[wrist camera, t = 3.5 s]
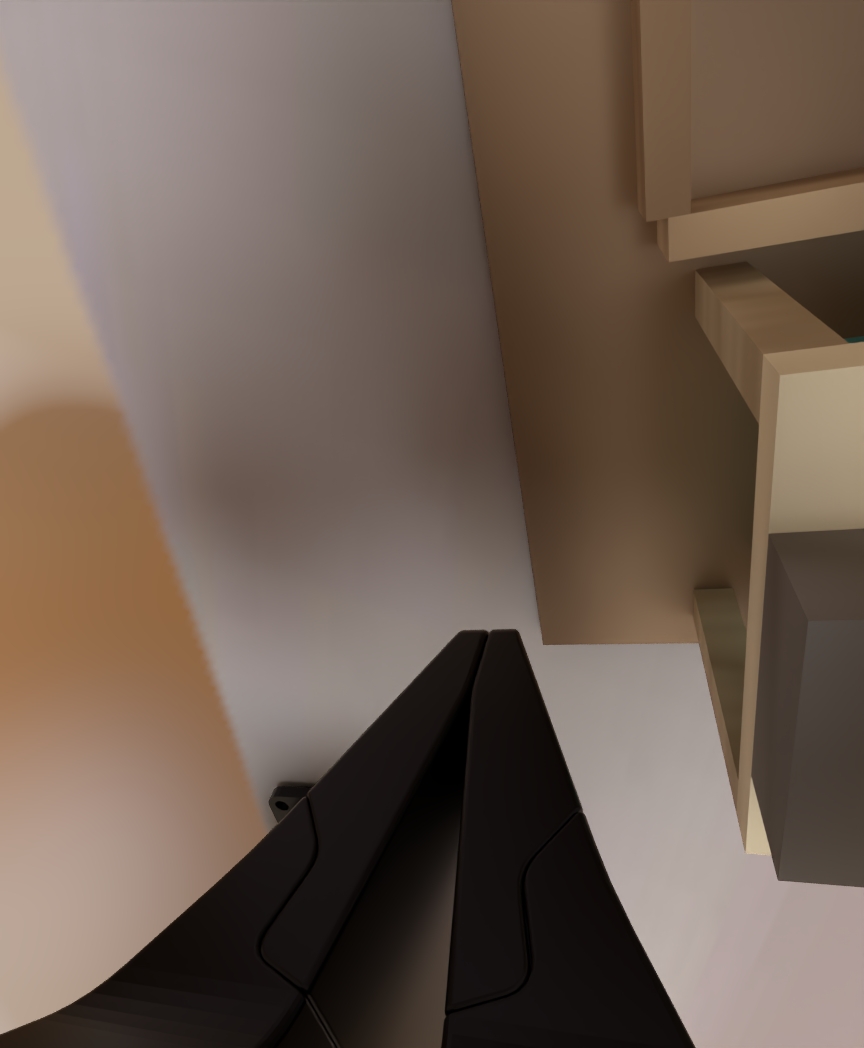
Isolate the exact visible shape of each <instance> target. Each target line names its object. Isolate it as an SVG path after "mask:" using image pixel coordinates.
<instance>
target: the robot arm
mask: <svg viewBox="0 0 864 1048" xmlns="http://www.w3.org/2000/svg"><path fill="white" fill-rule="evenodd" d="M269 806H270V808H271V810H272V812H273V814H274V816H275V818H276V820H277V822H278V824H277V825H276V826H275V827H274V828H273V829H272V830H271V831H270V832H269V833H268V834H267V835H266V836H265V837H264V838H263V839H262V840H261V841H260V842H259V843H258V844H257V845H256V846H255V847H254V849H252V850H251V851H250V852H249V853H248V854H247V855H246V856H245V857H244V858H243V859H242V860H241V861H239V863H237V864H236V865H235V866H234V867H233V868H232V869H231V870H230V871H229V872H228V873H227V874H226V875H225V876H224V877H222V879H220V880H219V881H218V882H217V883H216V884H215V885H214V886H213V887H211V888H210V889H209V890H208V891H207V892H206V893H205V894H204V895H202V896H201V897H200V898H199V899H198V900H197V901H196V902H195V903H193V904H192V905H191V906H190V907H189V908H188V909H187V910H186V911H185V912H183V913H182V914H181V915H180V916H179V917H178V918H177V919H176V920H174V921H173V922H172V923H171V924H170V925H169V926H168V927H167V928H166V929H164V930H163V931H162V932H161V933H160V934H159V935H158V936H157V937H155V938H154V939H153V940H152V941H151V942H150V943H149V944H148V945H147V946H145V947H144V948H143V949H142V950H141V951H140V952H139V953H137V954H136V955H135V956H134V957H133V958H132V959H131V960H130V961H129V962H128V963H126V964H125V965H124V966H123V967H122V968H120V969H119V970H118V971H117V972H116V973H114V974H113V975H112V976H111V977H110V978H109V979H107V980H106V981H104V982H103V983H102V984H100V985H99V986H98V987H96V988H95V989H94V990H92V991H91V992H89V993H88V994H86V995H85V996H83V997H81V998H80V999H78V1000H77V1001H75V1002H73V1003H72V1004H70V1005H68V1006H66V1007H64V1008H62V1009H60V1010H58V1011H56V1012H54V1013H52V1014H50V1015H48V1016H45V1017H43V1018H41V1019H38V1020H36V1021H33V1022H31V1023H28V1024H26V1025H23V1026H21V1027H18V1028H16V1029H13V1030H10V1031H8V1032H6V1033H3V1034H0V1048H696V1047H695V1046H694V1044H693V1042H692V1040H691V1038H690V1036H689V1034H688V1032H687V1030H686V1028H685V1026H684V1025H683V1023H682V1021H681V1019H680V1017H679V1015H678V1013H677V1011H676V1009H675V1007H674V1005H673V1004H672V1002H671V1000H670V998H669V996H668V994H667V992H666V990H665V988H664V986H663V984H662V982H661V981H660V979H659V977H658V975H657V973H656V971H655V969H654V967H653V965H652V963H651V961H650V960H649V958H648V956H647V954H646V952H645V950H644V948H643V946H642V944H641V942H640V940H639V939H638V937H637V935H636V933H635V931H634V929H633V927H632V925H631V923H630V921H629V919H628V916H627V914H626V912H625V910H624V908H623V906H622V904H621V902H620V900H619V898H618V896H617V894H616V892H615V890H614V887H613V885H612V883H611V881H610V878H609V876H608V874H607V871H606V869H605V866H604V864H603V861H602V859H601V856H600V854H599V851H598V849H597V846H596V844H595V841H594V838H593V835H592V833H591V830H590V827H589V824H588V822H587V819H586V816H585V814H584V813H583V809H582V806H581V803H580V800H579V797H578V795H577V792H576V789H575V786H574V784H573V781H572V778H571V775H570V772H569V770H568V767H567V764H566V761H565V758H564V756H563V753H562V750H561V747H560V745H559V742H558V739H557V736H556V733H555V731H554V728H553V725H552V722H551V720H550V717H549V714H548V711H547V708H546V706H545V703H544V700H543V697H542V695H541V692H540V689H539V686H538V683H537V681H536V678H535V675H534V672H533V670H532V667H531V664H530V661H529V658H528V656H527V653H526V650H525V647H524V644H523V642H522V639H521V636H520V634H519V632H518V631H517V630H516V629H497V630H492V631H490V632H487V631H486V630H463V631H460V632H459V633H458V634H457V635H456V636H455V637H454V638H453V639H452V640H451V641H450V642H449V643H448V644H447V645H446V646H445V647H444V648H443V649H442V650H441V652H440V653H439V654H438V655H437V656H436V657H435V658H434V659H433V660H432V661H431V662H430V663H429V664H428V665H427V666H426V667H425V668H424V670H423V671H422V672H421V673H420V674H419V675H418V676H417V677H416V678H415V679H414V680H413V681H412V682H411V683H410V684H409V685H408V687H407V688H406V689H405V690H404V691H403V692H402V693H401V694H400V695H399V696H398V697H397V698H396V699H395V700H394V701H393V702H392V704H391V705H390V706H389V707H388V708H387V709H386V710H385V711H384V712H383V713H382V714H381V715H380V716H379V717H378V718H377V719H376V721H375V722H374V723H373V724H372V725H371V726H370V727H369V728H368V729H367V730H366V731H365V732H364V733H363V734H362V735H361V736H360V738H359V739H358V740H357V741H356V742H355V743H354V744H353V745H352V746H351V747H350V748H349V749H348V750H347V751H346V752H345V753H344V755H343V756H342V757H341V758H340V759H339V760H338V761H337V762H336V763H335V764H334V765H333V766H332V767H331V768H330V769H329V770H328V772H327V773H326V774H325V775H324V776H323V777H322V778H321V779H320V780H319V781H318V782H317V783H316V784H315V785H314V786H313V787H312V788H301V787H283V786H282V787H277V788H275V789H274V791H273V793H272V795H271V797H270V799H269Z"/></svg>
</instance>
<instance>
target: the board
mask: <svg viewBox="0 0 864 1048" xmlns="http://www.w3.org/2000/svg"><path fill="white" fill-rule="evenodd" d="M451 2H452V9H453V16H454V23H455V30H456V37H457V44H458V51H459V58H460V65H461V72H462V79H463V86H464V93H465V100H466V107H467V114H468V121H469V128H470V135H471V142H472V149H473V156H474V163H475V170H476V177H477V184H478V191H479V198H480V205H481V212H482V219H483V226H484V233H485V240H486V247H487V254H488V261H489V268H490V275H491V282H492V289H493V296H494V303H495V310H496V317H497V324H498V331H499V338H500V345H501V353H502V360H503V367H504V374H505V381H506V388H507V395H508V402H509V409H510V416H511V423H512V430H513V437H514V444H515V451H516V458H517V465H518V472H519V479H520V486H521V493H522V500H523V507H524V514H525V521H526V528H527V535H528V542H529V549H530V556H531V563H532V570H533V577H534V584H535V591H536V598H537V605H538V612H539V619H540V626H541V633H542V640H543V645H567V644H653V643H699V641H698V637H697V632H696V628H695V623H694V618H693V590H694V589H725V588H733V591H734V594H735V597H736V600H737V603H738V607H739V610H740V613H741V616H742V619H743V622H744V625H745V628H746V631H747V623H748V606H749V589H750V572H751V555H752V538H753V521H754V503H755V486H756V469H757V452H758V435H759V424H758V422H757V420H756V419H755V417H754V415H753V414H752V412H751V410H750V409H749V407H748V405H747V404H746V402H745V400H744V398H743V397H742V395H741V393H740V392H739V390H738V388H737V387H736V385H735V383H734V382H733V380H732V378H731V377H730V375H729V373H728V371H727V370H726V368H725V366H724V365H723V363H722V361H721V360H720V358H719V356H718V355H717V353H716V351H715V350H714V348H713V346H712V345H711V343H710V341H709V339H708V338H707V336H706V334H705V333H704V331H703V329H702V328H701V326H700V324H699V323H698V321H697V319H696V318H695V270H696V269H702V268H709V267H715V266H721V265H727V264H733V263H740V262H746V261H747V262H748V263H749V264H750V265H752V266H753V267H754V268H755V269H757V270H758V271H759V272H760V273H762V274H763V275H764V276H765V277H767V278H768V279H769V280H770V281H772V282H773V283H774V284H775V285H777V286H778V287H779V288H780V289H782V290H783V291H784V292H785V293H787V294H788V295H789V296H790V297H792V298H793V299H794V300H795V301H797V302H798V303H799V304H800V305H802V306H803V307H804V308H805V309H807V310H808V311H809V312H811V313H812V314H813V315H814V316H816V317H817V318H818V319H819V320H821V321H822V322H823V323H824V324H826V325H827V326H828V327H829V328H831V329H832V330H833V331H834V332H836V333H837V334H838V335H839V336H841V337H842V338H843V339H846V338H854V337H862V336H864V0H451Z"/></svg>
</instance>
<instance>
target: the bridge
mask: <svg viewBox="0 0 864 1048" xmlns="http://www.w3.org/2000/svg"><path fill="white" fill-rule="evenodd" d="M695 318H696V319H697V321H698V323H699V324H700V326H701V328H702V329H703V331H704V333H705V334H706V336H707V338H708V339H709V341H710V343H711V345H712V346H713V348H714V350H715V351H716V353H717V355H718V356H719V358H720V360H721V361H722V363H723V365H724V366H725V368H726V370H727V371H728V373H729V375H730V377H731V378H732V380H733V382H734V383H735V385H736V387H737V388H738V390H739V392H740V393H741V395H742V397H743V398H744V400H745V402H746V404H747V405H748V407H749V409H750V410H751V412H752V414H753V415H754V417H755V419H756V420H757V422H758V424H759V435H758V452H757V469H756V486H755V503H754V521H753V538H752V555H751V572H750V589H749V606H748V623H747V631H746V628H745V625H744V622H743V619H742V616H741V613H740V610H739V607H738V603H737V600H736V597H735V594H734V591H733V588H725V589H694V590H693V618H694V623H695V628H696V632H697V637H698V641H699V646H700V650H701V655H702V659H703V664H704V668H705V673H706V677H707V682H708V686H709V691H710V695H711V700H712V704H713V709H714V713H715V718H716V722H717V727H718V732H719V736H720V741H721V745H722V750H723V754H724V759H725V763H726V768H727V772H728V777H729V781H730V786H731V790H732V795H733V799H734V804H735V808H736V813H737V817H738V822H739V827H740V831H741V836H742V840H743V845H744V849H745V853H748V854H762V855H772V859H773V863H774V867H775V871H776V875H777V878H778V880H779V881H792V882H804V883H816V884H829V885H841V886H854V887H864V342H858V343H850V344H849V343H848V342H847V341H846V340H844V339H843V338H842V337H841V336H839V335H838V334H837V333H836V332H834V331H833V330H832V329H831V328H829V327H828V326H827V325H826V324H824V323H823V322H822V321H821V320H819V319H818V318H817V317H816V316H814V315H813V314H812V313H811V312H809V311H808V310H807V309H805V308H804V307H803V306H802V305H800V304H799V303H798V302H797V301H795V300H794V299H793V298H792V297H790V296H789V295H788V294H787V293H785V292H784V291H783V290H782V289H780V288H779V287H778V286H777V285H775V284H774V283H773V282H772V281H770V280H769V279H768V278H767V277H765V276H764V275H763V274H762V273H760V272H759V271H758V270H757V269H755V268H754V267H753V266H752V265H750V264H749V263H748V262H747V261H746V262H740V263H733V264H727V265H721V266H715V267H709V268H702V269H696V270H695Z"/></svg>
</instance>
